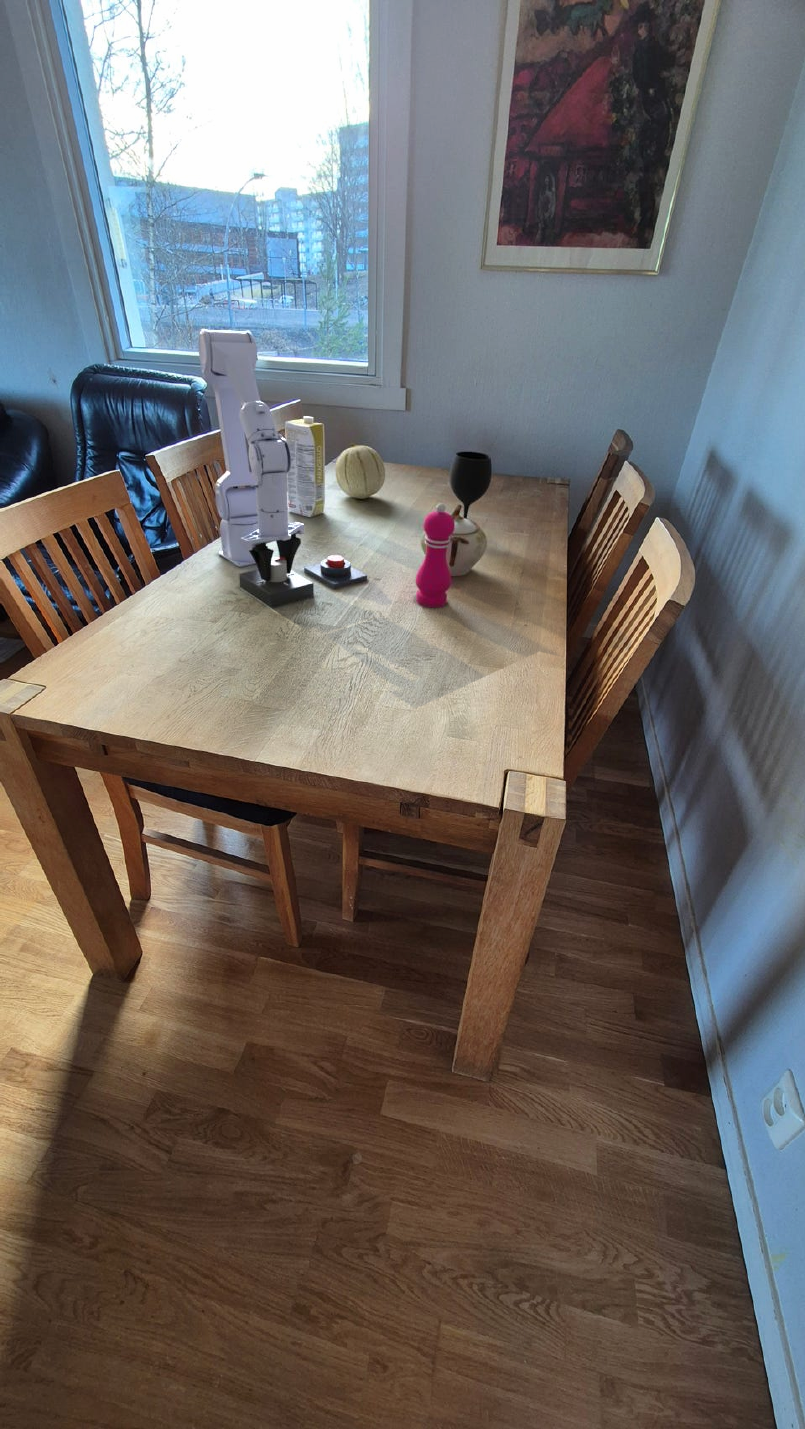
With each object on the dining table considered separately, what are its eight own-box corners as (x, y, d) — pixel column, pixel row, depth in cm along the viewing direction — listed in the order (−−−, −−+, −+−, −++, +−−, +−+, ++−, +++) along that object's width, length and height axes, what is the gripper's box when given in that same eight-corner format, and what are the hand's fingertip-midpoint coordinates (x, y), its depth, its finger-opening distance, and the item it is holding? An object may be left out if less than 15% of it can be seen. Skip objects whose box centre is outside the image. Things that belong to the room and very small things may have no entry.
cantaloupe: (383, 506, 179) (385, 452, 170) (332, 502, 178) (332, 447, 170) (384, 492, 191) (387, 440, 182) (337, 488, 190) (338, 436, 182)
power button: (323, 563, 133) (323, 557, 132) (337, 560, 135) (337, 553, 135) (333, 569, 131) (333, 562, 130) (347, 565, 133) (347, 559, 132)
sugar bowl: (483, 589, 135) (494, 521, 126) (415, 583, 135) (421, 514, 126) (481, 557, 151) (490, 494, 142) (420, 551, 151) (426, 488, 142)
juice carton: (328, 512, 171) (328, 418, 157) (310, 519, 165) (308, 422, 151) (302, 505, 174) (300, 412, 161) (283, 511, 169) (280, 416, 155)
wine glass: (438, 537, 160) (446, 456, 149) (450, 526, 168) (459, 448, 157) (476, 544, 158) (487, 463, 146) (486, 533, 166) (498, 454, 154)
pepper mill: (452, 597, 130) (464, 502, 118) (443, 611, 124) (454, 511, 113) (419, 591, 131) (428, 496, 120) (409, 604, 126) (417, 505, 114)
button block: (304, 572, 135) (303, 559, 134) (336, 564, 141) (336, 551, 139) (334, 589, 129) (334, 576, 127) (367, 580, 134) (367, 567, 133)
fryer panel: (240, 587, 127) (238, 572, 125) (281, 577, 133) (280, 563, 131) (271, 608, 120) (270, 593, 118) (313, 596, 126) (313, 582, 124)
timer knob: (272, 584, 122) (271, 565, 120) (260, 576, 124) (259, 558, 122) (291, 579, 124) (290, 560, 122) (279, 572, 127) (278, 554, 125)
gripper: (257, 521, 110) (261, 592, 117) (314, 505, 119) (315, 572, 127) (231, 511, 113) (237, 581, 121) (289, 497, 123) (291, 562, 130)
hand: (275, 575), depth 124 cm, fingers open, 5 cm apart
